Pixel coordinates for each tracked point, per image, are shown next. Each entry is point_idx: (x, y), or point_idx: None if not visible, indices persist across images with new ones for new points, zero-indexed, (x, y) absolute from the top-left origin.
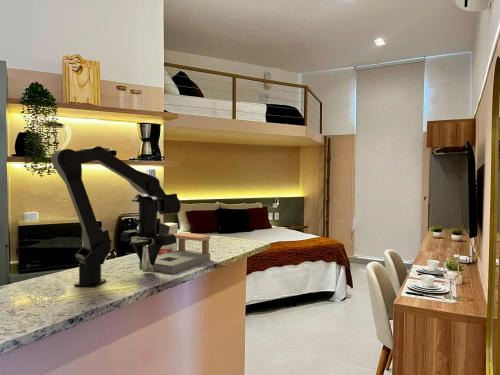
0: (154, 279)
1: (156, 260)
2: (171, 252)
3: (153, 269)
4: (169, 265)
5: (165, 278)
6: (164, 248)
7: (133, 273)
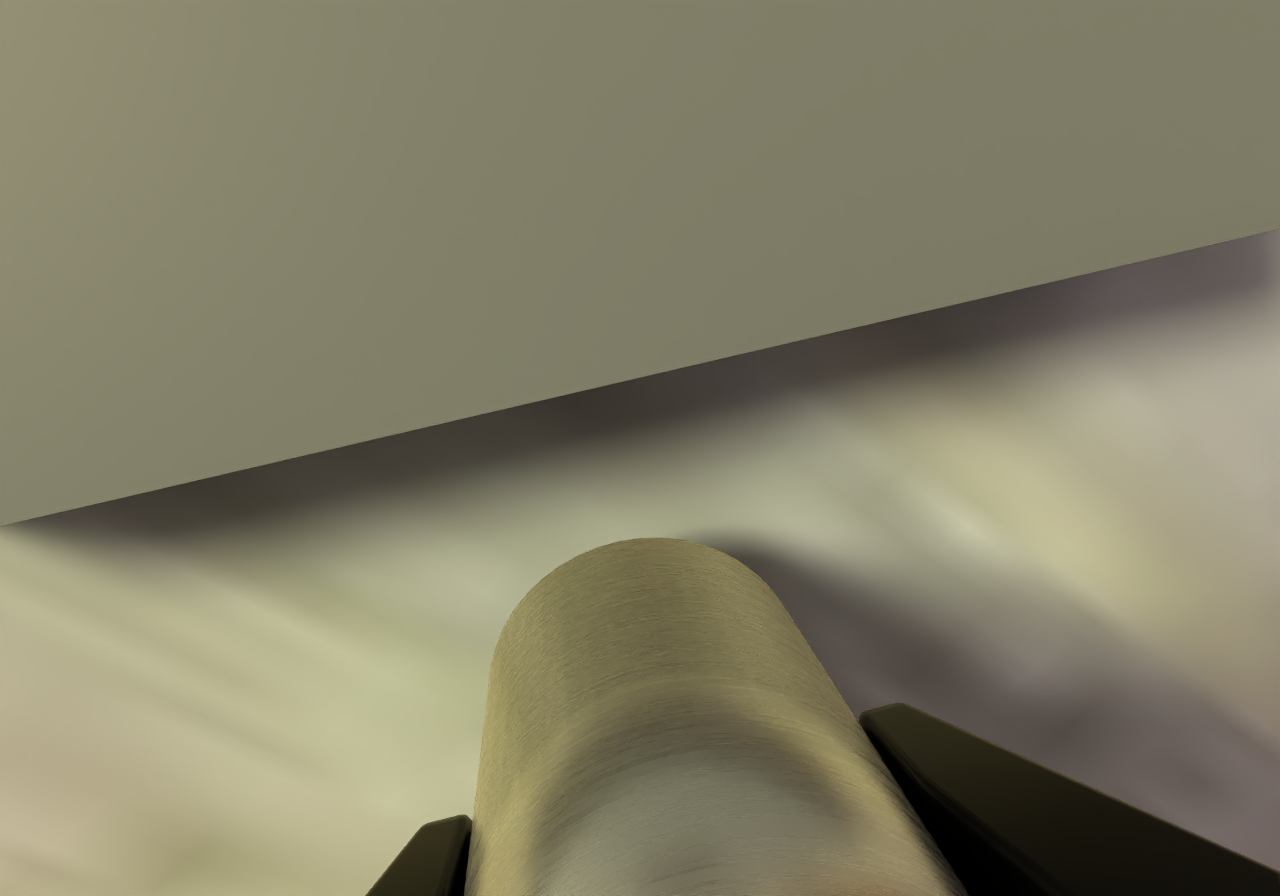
0: (1125, 782)
1: (117, 55)
2: None
3: (788, 613)
4: (1191, 249)
5: (1264, 588)
6: None
7: (351, 862)
